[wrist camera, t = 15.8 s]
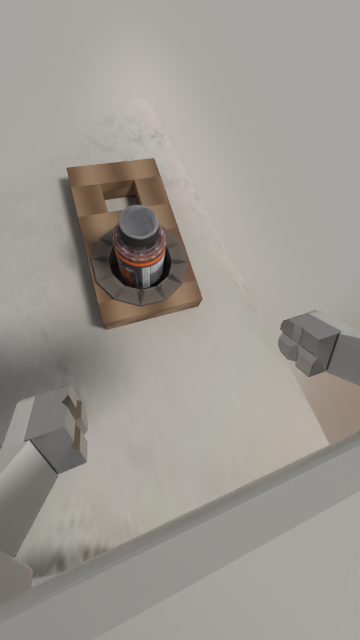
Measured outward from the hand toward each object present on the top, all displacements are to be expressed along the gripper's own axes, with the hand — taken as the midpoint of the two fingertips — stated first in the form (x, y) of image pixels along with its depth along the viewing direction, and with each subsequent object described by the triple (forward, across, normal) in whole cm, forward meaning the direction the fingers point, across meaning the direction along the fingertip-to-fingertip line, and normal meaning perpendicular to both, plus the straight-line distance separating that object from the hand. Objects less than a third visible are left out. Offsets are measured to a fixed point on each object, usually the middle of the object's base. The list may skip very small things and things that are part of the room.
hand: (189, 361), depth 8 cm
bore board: (+30, -2, +2) cm, 30 cm away
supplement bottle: (+26, -2, +5) cm, 27 cm away
